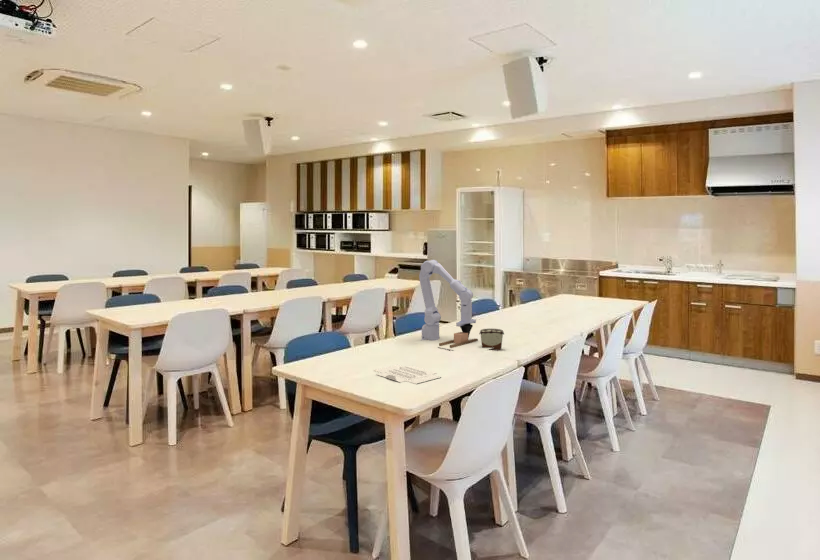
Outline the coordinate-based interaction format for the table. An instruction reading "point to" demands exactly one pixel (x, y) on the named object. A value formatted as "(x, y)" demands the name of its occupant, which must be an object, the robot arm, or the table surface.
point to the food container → (491, 338)
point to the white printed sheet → (407, 374)
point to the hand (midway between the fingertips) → (466, 338)
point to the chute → (456, 343)
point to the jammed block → (460, 337)
